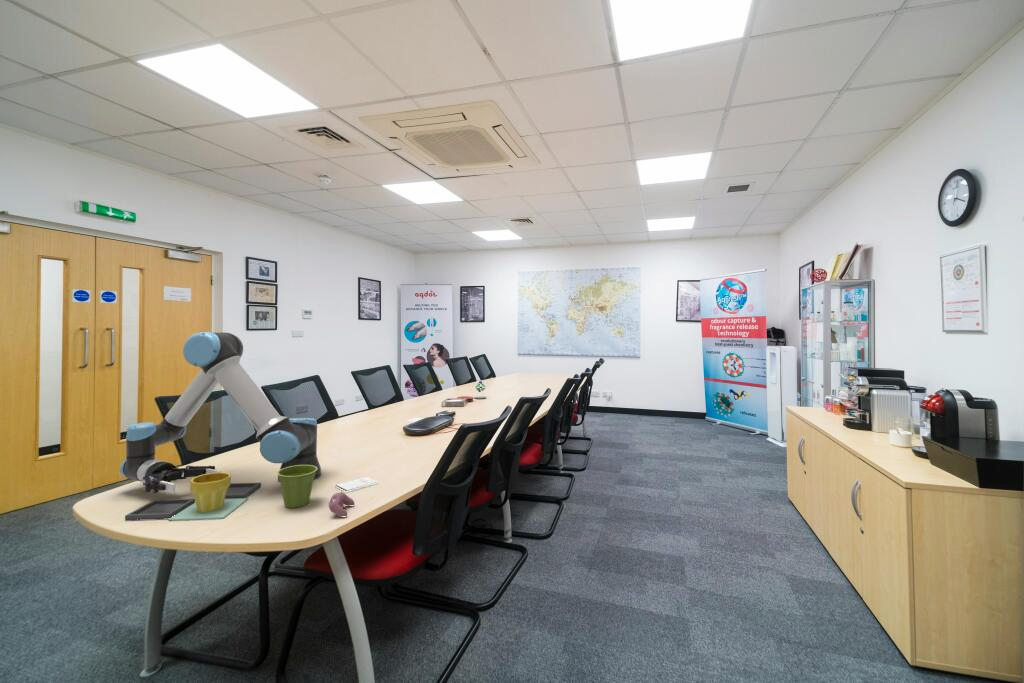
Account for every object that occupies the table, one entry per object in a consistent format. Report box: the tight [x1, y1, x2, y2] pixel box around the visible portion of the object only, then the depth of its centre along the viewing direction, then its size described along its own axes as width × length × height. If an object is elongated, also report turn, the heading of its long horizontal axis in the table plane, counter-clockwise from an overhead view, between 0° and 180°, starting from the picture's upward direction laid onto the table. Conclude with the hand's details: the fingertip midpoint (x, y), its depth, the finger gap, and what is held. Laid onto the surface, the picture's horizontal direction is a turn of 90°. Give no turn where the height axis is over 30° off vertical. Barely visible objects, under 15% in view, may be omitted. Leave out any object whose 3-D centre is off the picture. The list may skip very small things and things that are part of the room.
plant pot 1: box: [189, 471, 232, 512], centre depth 130 cm, size 10×10×10 cm
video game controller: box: [328, 491, 355, 517], centre depth 130 cm, size 10×5×7 cm, turn 6°
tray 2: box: [225, 482, 262, 499], centre depth 144 cm, size 12×12×2 cm
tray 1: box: [124, 498, 195, 521], centre depth 128 cm, size 12×12×2 cm
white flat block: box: [335, 476, 379, 491], centre depth 154 cm, size 2×8×12 cm
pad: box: [167, 497, 249, 521], centre depth 130 cm, size 15×15×1 cm
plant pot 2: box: [276, 465, 318, 509], centre depth 136 cm, size 12×12×11 cm
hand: (198, 481), depth 132 cm, fingers open, 13 cm apart
